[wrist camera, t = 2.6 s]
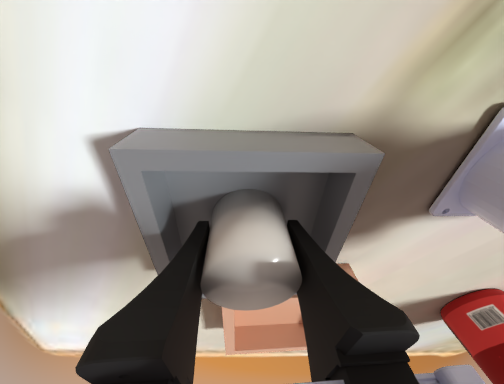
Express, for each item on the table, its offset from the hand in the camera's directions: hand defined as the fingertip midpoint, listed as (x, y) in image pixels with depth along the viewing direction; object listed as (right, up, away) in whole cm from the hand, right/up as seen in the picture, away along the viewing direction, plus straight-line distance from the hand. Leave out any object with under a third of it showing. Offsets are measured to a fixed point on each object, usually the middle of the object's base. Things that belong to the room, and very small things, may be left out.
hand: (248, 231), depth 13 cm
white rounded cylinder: (0, +1, +1) cm, 1 cm away
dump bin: (+3, -9, +9) cm, 13 cm away
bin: (0, +1, +2) cm, 2 cm away
